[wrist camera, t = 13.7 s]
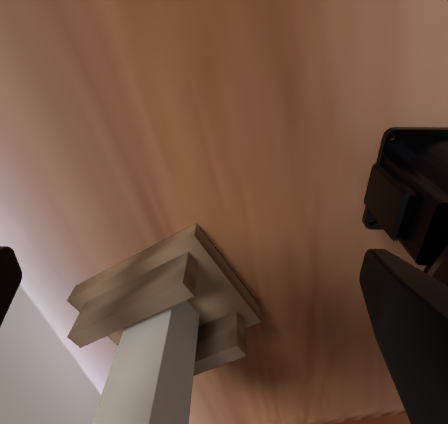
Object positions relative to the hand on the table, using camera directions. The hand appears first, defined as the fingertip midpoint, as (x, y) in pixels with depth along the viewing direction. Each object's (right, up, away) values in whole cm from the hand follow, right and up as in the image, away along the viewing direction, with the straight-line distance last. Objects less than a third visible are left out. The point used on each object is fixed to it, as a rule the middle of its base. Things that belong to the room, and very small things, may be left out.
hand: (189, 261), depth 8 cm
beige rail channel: (-3, -5, +17) cm, 18 cm away
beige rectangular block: (-3, -6, +16) cm, 17 cm away
